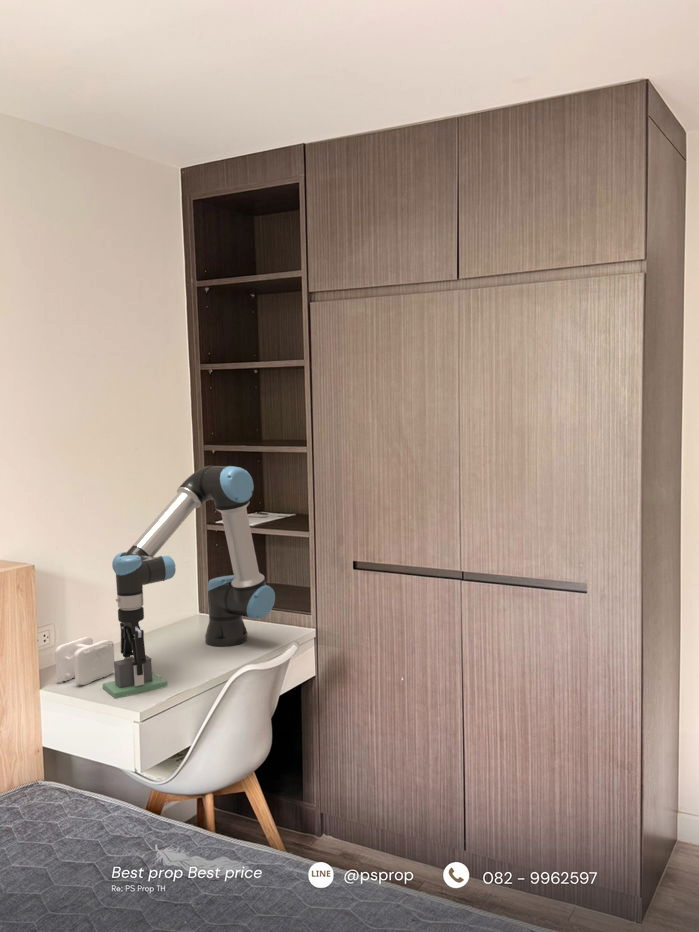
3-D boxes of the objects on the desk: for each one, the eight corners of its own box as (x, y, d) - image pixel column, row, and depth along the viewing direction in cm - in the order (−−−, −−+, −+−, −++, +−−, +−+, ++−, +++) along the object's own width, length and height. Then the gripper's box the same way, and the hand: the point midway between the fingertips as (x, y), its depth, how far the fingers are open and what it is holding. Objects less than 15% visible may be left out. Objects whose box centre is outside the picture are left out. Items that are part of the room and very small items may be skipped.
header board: (153, 677, 265) (152, 660, 264) (166, 686, 256) (165, 668, 255) (102, 688, 256) (101, 670, 255) (115, 698, 247) (114, 680, 246)
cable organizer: (93, 669, 274) (91, 634, 273) (116, 674, 269) (114, 638, 268) (56, 683, 262) (54, 647, 261) (80, 688, 256) (78, 651, 255)
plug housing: (146, 677, 260) (145, 654, 259) (152, 680, 256) (151, 658, 256) (115, 684, 254) (113, 661, 254) (120, 688, 251) (119, 665, 250)
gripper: (107, 603, 260) (111, 675, 262) (130, 616, 243) (134, 693, 245) (130, 599, 264) (134, 670, 266) (155, 611, 247) (159, 687, 249)
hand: (134, 681), depth 255 cm, fingers open, 8 cm apart
